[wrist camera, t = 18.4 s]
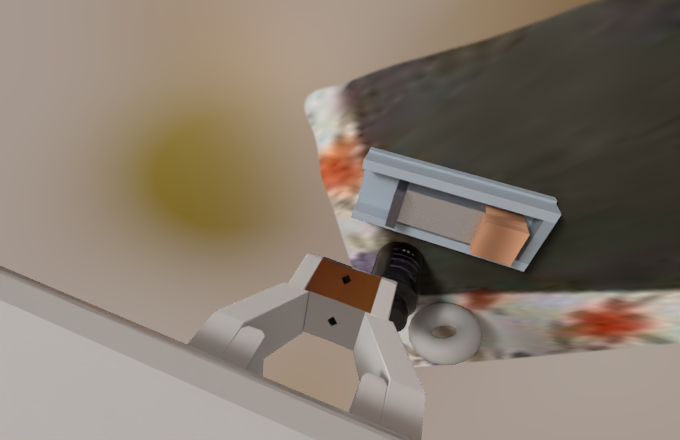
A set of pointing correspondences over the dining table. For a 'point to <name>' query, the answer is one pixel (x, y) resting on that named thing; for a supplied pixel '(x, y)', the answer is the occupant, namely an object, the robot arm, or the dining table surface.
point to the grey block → (435, 211)
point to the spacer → (499, 235)
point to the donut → (445, 348)
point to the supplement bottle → (401, 278)
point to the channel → (392, 167)
